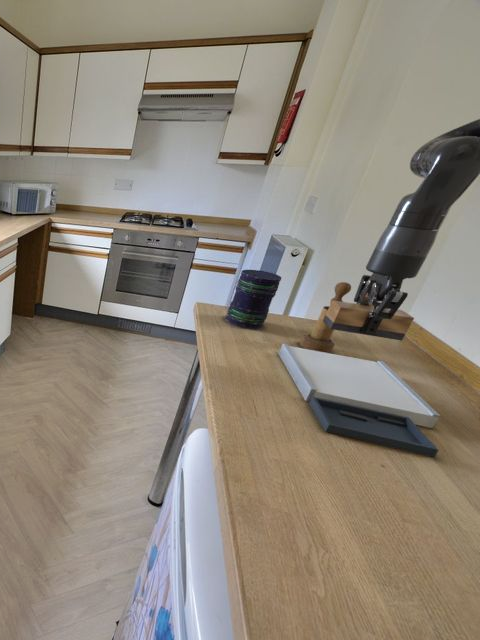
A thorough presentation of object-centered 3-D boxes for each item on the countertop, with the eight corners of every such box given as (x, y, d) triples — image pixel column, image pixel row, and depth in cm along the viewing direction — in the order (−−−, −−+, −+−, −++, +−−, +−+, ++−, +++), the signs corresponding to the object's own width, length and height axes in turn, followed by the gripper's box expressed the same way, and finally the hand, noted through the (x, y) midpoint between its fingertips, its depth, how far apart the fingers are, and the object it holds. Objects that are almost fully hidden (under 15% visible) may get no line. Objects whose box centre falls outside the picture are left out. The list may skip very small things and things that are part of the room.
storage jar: (240, 315, 128) (256, 268, 122) (270, 327, 120) (290, 278, 114) (217, 318, 125) (233, 270, 118) (247, 331, 117) (266, 280, 110)
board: (377, 372, 97) (383, 361, 96) (432, 428, 77) (440, 415, 76) (278, 353, 104) (282, 343, 103) (305, 400, 84) (311, 388, 83)
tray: (404, 424, 78) (408, 417, 77) (433, 457, 70) (438, 449, 69) (309, 403, 83) (312, 396, 83) (325, 431, 75) (329, 424, 74)
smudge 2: (406, 424, 76) (404, 426, 77) (403, 421, 77) (401, 423, 78) (379, 418, 78) (378, 420, 78) (376, 415, 79) (375, 417, 79)
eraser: (390, 331, 87) (402, 310, 85) (402, 340, 83) (414, 318, 81) (322, 321, 92) (332, 300, 89) (330, 329, 87) (340, 307, 85)
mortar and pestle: (306, 351, 106) (337, 285, 98) (295, 341, 112) (322, 277, 104) (336, 355, 105) (369, 288, 97) (322, 344, 110) (352, 280, 103)
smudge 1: (364, 418, 78) (366, 416, 78) (366, 421, 77) (367, 419, 77) (338, 411, 80) (339, 409, 80) (340, 414, 79) (341, 412, 79)
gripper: (447, 260, 73) (399, 346, 80) (407, 245, 85) (368, 321, 92) (394, 255, 75) (352, 338, 83) (362, 241, 87) (328, 315, 95)
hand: (361, 329), depth 87 cm, fingers closed on eraser, 5 cm apart
